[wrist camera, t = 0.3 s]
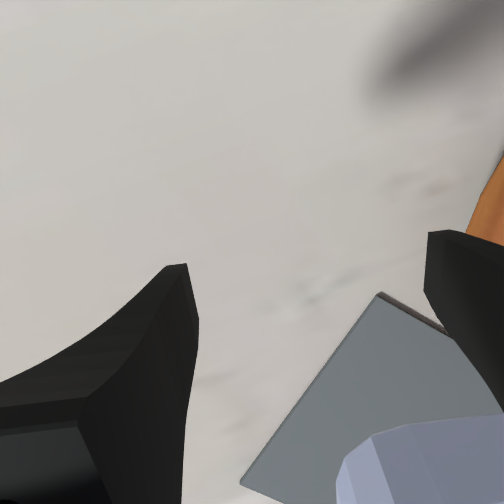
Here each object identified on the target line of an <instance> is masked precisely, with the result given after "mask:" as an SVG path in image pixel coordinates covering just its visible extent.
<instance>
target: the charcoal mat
mask: <svg viewBox="0 0 504 504" xmlns="http://www.w3.org/2000/svg"><path fill="white" fill-rule="evenodd" d="M496 413H504V412H503V411H502V409H501V407H500V406H499V404H498V402H497V401H496V399H495V397H494V395H493V394H492V392H491V390H490V389H489V387H488V386H487V384H486V383H485V381H484V380H483V378H482V377H481V376H480V374H479V373H478V371H477V370H476V369H475V368H474V366H473V365H472V364H471V362H470V361H469V360H468V358H467V357H466V356H465V354H464V353H463V352H462V350H461V349H460V348H459V346H458V345H457V344H456V342H455V341H454V340H453V338H451V337H449V336H447V335H446V334H444V333H442V332H440V331H439V330H437V329H435V328H433V327H432V326H430V325H428V324H426V323H425V322H423V321H421V320H419V319H417V318H416V317H414V316H412V315H410V314H409V313H407V312H405V311H403V310H402V309H400V308H398V307H396V306H395V305H393V304H391V303H389V302H388V301H386V300H384V299H382V298H381V297H379V296H377V295H376V296H375V297H374V298H373V300H372V301H371V303H370V304H369V305H368V307H367V308H366V309H365V311H364V312H363V313H362V315H361V316H360V318H359V319H358V320H357V322H356V323H355V324H354V326H353V327H352V328H351V330H350V331H349V333H348V334H347V335H346V337H345V338H344V339H343V341H342V342H341V343H340V345H339V346H338V348H337V349H336V350H335V352H334V353H333V354H332V356H331V357H330V358H329V360H328V361H327V363H326V364H325V365H324V367H323V368H322V369H321V371H320V372H319V373H318V375H317V376H316V378H315V379H314V380H313V382H312V383H311V384H310V386H309V387H308V388H307V390H306V391H305V393H304V394H303V395H302V397H301V398H300V399H299V401H298V402H297V403H296V405H295V406H294V408H293V409H292V410H291V412H290V413H289V414H288V416H287V417H286V418H285V420H284V421H283V423H282V424H281V425H280V427H279V428H278V429H277V431H276V432H275V434H274V435H273V436H272V438H271V439H270V440H269V442H268V443H267V444H266V446H265V447H264V449H263V450H262V451H261V453H260V454H259V455H258V457H257V458H256V459H255V461H254V462H253V464H252V465H251V466H250V468H249V469H248V470H247V472H246V473H245V474H244V476H243V477H242V479H241V480H240V485H242V486H244V487H247V488H249V489H251V490H254V491H256V492H258V493H261V494H263V495H265V496H268V497H270V498H272V499H275V500H277V501H279V502H282V503H284V504H337V497H336V479H337V477H338V474H339V471H340V468H341V466H342V463H343V460H344V458H345V456H346V455H347V454H348V453H349V452H351V451H352V450H353V449H354V448H356V447H357V446H358V445H359V444H361V443H362V442H363V441H364V440H366V439H367V438H368V437H369V436H371V435H372V434H375V433H378V432H382V431H385V430H388V429H392V428H395V427H398V426H401V425H405V424H413V423H421V422H429V421H438V420H446V419H454V418H463V417H471V416H479V415H487V414H496Z"/></svg>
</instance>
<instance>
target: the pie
mask: <svg viewBox="0 0 504 504" xmlns="http://www.w3.org/2000/svg"><path fill="white" fill-rule="evenodd" d="M465 233H466V234H469V235H472V236H475V237H479V238H482V239H485V240H488V241H491V242H493V243H496V244H499V245H502V246H504V156H503V158H502V159H501V161H500V163H499V164H498V166H497V168H496V170H495V171H494V173H493V175H492V176H491V178H490V180H489V182H488V183H487V185H486V187H485V188H484V190H483V192H482V193H481V195H480V198H479V201H478V203H477V206H476V208H475V210H474V213H473V215H472V218H471V220H470V223H469V225H468V228H467V230H466V232H465Z"/></svg>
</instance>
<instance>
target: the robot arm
mask: <svg viewBox="0 0 504 504" xmlns="http://www.w3.org/2000/svg"><path fill="white" fill-rule="evenodd" d="M423 291H424V293H425V295H426V297H427V299H428V301H429V303H430V305H431V307H432V309H433V310H434V312H435V314H436V316H437V318H438V319H439V320H440V322H441V323H442V325H443V326H444V327H445V329H446V330H447V331H448V333H449V334H450V336H451V337H452V338H453V340H454V341H455V342H456V344H457V345H458V346H459V348H460V349H461V350H462V352H463V353H464V354H465V356H466V357H467V358H468V360H469V361H470V362H471V364H472V365H473V366H474V368H475V369H476V370H477V371H478V373H479V374H480V376H481V377H482V378H483V380H484V381H485V383H486V384H487V386H488V387H489V389H490V390H491V392H492V394H493V395H494V397H495V399H496V401H497V402H498V404H499V406H500V407H501V409H502V411H503V412H504V246H502V245H499V244H496V243H493V242H491V241H488V240H485V239H482V238H479V237H475V236H472V235H469V234H466V233H462V232H459V231H454V230H442V231H434V232H428V242H427V254H426V266H425V278H424V290H423ZM198 339H199V317H198V312H197V308H196V303H195V299H194V294H193V290H192V285H191V281H190V276H189V272H188V267H187V263H184V264H176V265H168V266H166V267H164V268H163V269H162V270H161V271H160V272H159V273H158V274H157V275H156V276H155V277H154V278H153V279H152V280H151V281H150V282H149V283H148V284H147V285H146V286H145V287H144V288H143V289H142V290H141V291H140V292H139V293H138V294H137V295H136V296H135V297H134V298H132V299H131V300H130V301H129V302H128V303H127V304H126V305H125V306H123V307H122V308H121V309H120V310H119V311H118V312H117V313H115V314H114V315H113V316H112V317H111V318H109V319H108V320H107V321H106V322H104V323H103V324H102V325H100V326H99V327H98V328H96V329H95V330H94V331H92V332H91V333H89V334H88V335H86V336H85V337H84V338H82V339H81V340H79V341H77V342H76V343H74V344H72V345H71V346H69V347H67V348H66V349H64V350H62V351H61V352H59V353H57V354H56V355H54V356H52V357H51V358H49V359H47V360H45V361H43V362H42V363H40V364H38V365H36V366H34V367H32V368H30V369H28V370H26V371H24V372H22V373H20V374H18V375H16V376H13V377H11V378H9V379H7V380H5V381H3V382H0V504H181V497H182V476H183V456H184V440H185V425H186V417H187V409H188V404H189V398H190V392H191V387H192V381H193V375H194V369H195V364H196V358H197V351H198ZM336 497H337V504H504V413H496V414H487V415H479V416H471V417H463V418H454V419H446V420H438V421H429V422H421V423H413V424H405V425H401V426H398V427H395V428H392V429H388V430H385V431H382V432H378V433H375V434H372V435H371V436H369V437H368V438H367V439H366V440H364V441H363V442H362V443H361V444H359V445H358V446H357V447H356V448H354V449H353V450H352V451H351V452H349V453H348V454H347V455H346V456H345V458H344V460H343V463H342V466H341V468H340V471H339V474H338V477H337V479H336Z"/></svg>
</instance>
